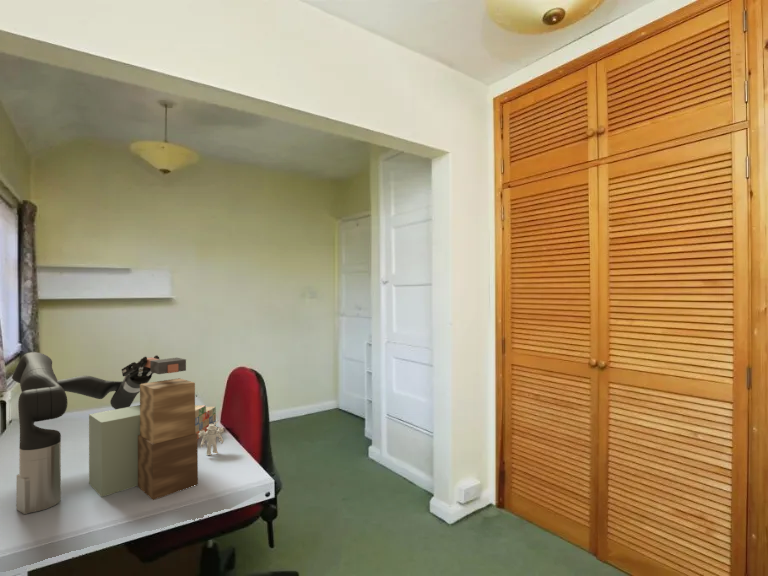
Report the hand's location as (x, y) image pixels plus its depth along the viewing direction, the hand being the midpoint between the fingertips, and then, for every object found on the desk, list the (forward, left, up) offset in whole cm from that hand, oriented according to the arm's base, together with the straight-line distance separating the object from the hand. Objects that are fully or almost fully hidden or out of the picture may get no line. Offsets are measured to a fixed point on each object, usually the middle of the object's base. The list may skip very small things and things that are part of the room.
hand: (151, 358), depth 142 cm
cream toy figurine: (+22, -2, -39) cm, 44 cm away
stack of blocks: (+33, +25, -39) cm, 57 cm away
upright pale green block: (-4, +1, -39) cm, 39 cm away
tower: (-2, -14, -39) cm, 41 cm away
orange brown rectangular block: (-1, -7, -3) cm, 8 cm away
